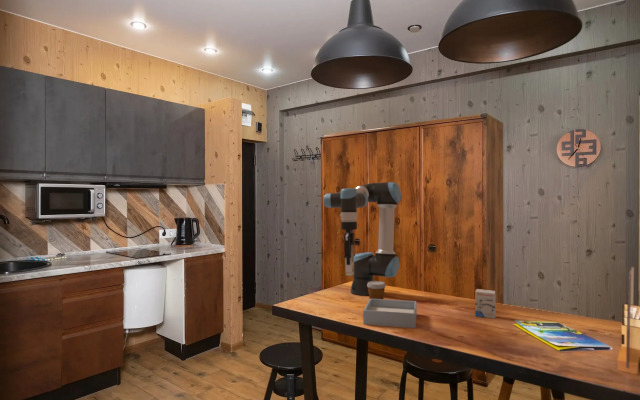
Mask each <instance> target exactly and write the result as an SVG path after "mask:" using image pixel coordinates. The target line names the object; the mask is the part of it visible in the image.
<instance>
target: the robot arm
mask: <svg viewBox="0 0 640 400" xmlns="http://www.w3.org/2000/svg"><path fill="white" fill-rule="evenodd" d="M401 199H402V192H401V187H400V185H399V184H398V183H397V182H390V181H387V182H386V181H385V182H370V183H367V184H362V185H358V186H357V187H353V188H352V187H350V188H348V187H347V188H342V189H341V190H340V191H338V192H332V193H331V192H329V193H328V192H327V193H325V195H324V196H323V199H322V201H323V205H324V207H325V208H330V209H335V208H336V209H339V208H340V214H339V216H340V221H341V222H340V229H341V230H344V231H345V233H344V236H343V243H344V249H343V250H344V255H343V258H344V259H345V258H346V272H352V258H351V245H354V246H355V233H354V231H355V230H358V222H357V220H358V209H362V208H365V207H367V205H368V203H376V206H377V207H378V208H379V209H378V212H379V213H378V216H379V217H378V241H377V243H378V246H377V248H378V249H377V250H376V251H375V253H374V252H370V251H367V252H359V253H354V276H352V278H353V279H352V283H351V286H350V293H351V294H352V295H353V294H354V295H356V296H357V295H358V296H369V292H368V287H367V284H368V282H370V281H375V280H374V277H381V278H382V277H384V278H394V277H396V276H397V274H398V271H399V270H400V269H399V268H400V258H399V257H398V256H397V253H396V252H395V251H394V244H395V243H394V239H395V238H394V235H395V233H394V232H395V209H396V208H397V207H398V204H399V203H401ZM346 272H345V273H346Z"/></svg>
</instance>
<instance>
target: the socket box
mask: <svg viewBox="0 0 640 400" xmlns="http://www.w3.org/2000/svg"><path fill="white" fill-rule="evenodd" d="M368 299H369V298H368ZM417 308H418V307H417V301H416V300H404V299H403V300H400V299H369V300H368V302H367V303H366V305H365V307H364V309H363V310H362V316H363V318H362V319H363V322H362V323H363V325H367V326H383V327H393V328H394V327H396V328H408V329H416V328H417V327H416V325H417V314H418V313H417V312H418V311H417Z"/></svg>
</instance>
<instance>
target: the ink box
mask: <svg viewBox="0 0 640 400" xmlns="http://www.w3.org/2000/svg"><path fill="white" fill-rule="evenodd" d="M496 293H497V292H496V290H490V289H489V290H488V289H480V288H477V289H475V295H474V296H475V297H474V298H475V299H474V301H475V307H474V308H475V311H474V312H475V314H474V316H475V317H479V318H485V317H486V319H493V318H494V320H495V319H496V313H497V311H496V308H497V307H496V304H497V303H496V297H497V296H496V295H497V294H496Z"/></svg>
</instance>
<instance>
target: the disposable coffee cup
mask: <svg viewBox="0 0 640 400" xmlns="http://www.w3.org/2000/svg"><path fill="white" fill-rule="evenodd" d="M367 287H368V292H369V295H368V296H369V298H368V299H384V298H385V289H386V282H384V281H380V280H378V281H377V280H374V281H370V282H368V284H367Z"/></svg>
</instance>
